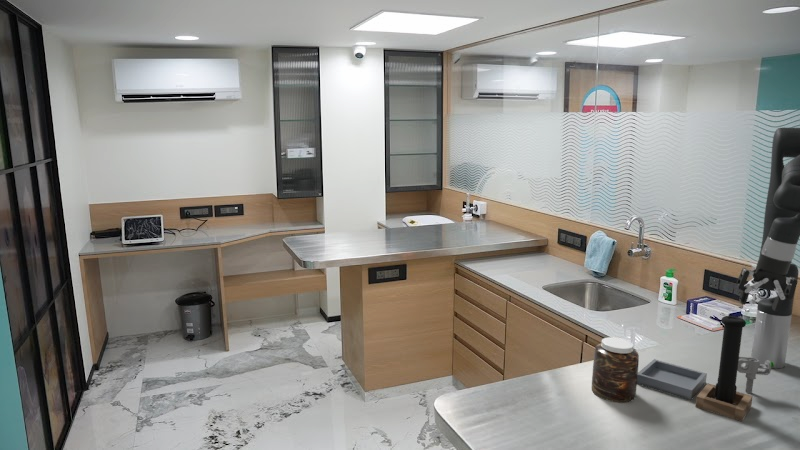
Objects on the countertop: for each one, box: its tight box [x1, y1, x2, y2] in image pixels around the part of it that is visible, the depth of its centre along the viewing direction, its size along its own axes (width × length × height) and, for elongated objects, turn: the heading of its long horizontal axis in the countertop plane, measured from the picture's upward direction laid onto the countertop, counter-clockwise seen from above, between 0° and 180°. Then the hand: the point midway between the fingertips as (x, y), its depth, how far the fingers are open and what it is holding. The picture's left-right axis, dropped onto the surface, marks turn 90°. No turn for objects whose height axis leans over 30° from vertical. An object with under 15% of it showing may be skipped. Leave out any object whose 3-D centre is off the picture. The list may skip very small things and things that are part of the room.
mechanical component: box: [737, 356, 774, 395], centre depth 159 cm, size 3×10×10 cm, turn 78°
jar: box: [591, 336, 640, 403], centre depth 157 cm, size 12×12×15 cm
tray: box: [637, 358, 708, 401], centre depth 165 cm, size 15×15×3 cm
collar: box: [695, 383, 753, 422], centre depth 151 cm, size 11×11×3 cm
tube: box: [715, 315, 747, 405], centre depth 149 cm, size 25×6×6 cm
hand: (758, 306), depth 162 cm, fingers open, 8 cm apart
